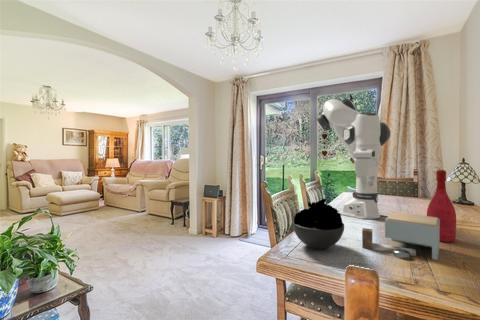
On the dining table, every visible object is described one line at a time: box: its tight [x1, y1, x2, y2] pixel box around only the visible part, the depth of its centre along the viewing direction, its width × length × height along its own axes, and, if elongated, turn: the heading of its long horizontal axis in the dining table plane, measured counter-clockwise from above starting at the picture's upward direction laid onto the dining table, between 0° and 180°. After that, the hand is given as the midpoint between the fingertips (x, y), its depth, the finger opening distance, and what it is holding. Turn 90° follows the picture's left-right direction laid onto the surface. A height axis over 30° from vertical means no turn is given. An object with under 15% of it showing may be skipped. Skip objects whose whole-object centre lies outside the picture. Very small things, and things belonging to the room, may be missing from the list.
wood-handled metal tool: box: [361, 227, 417, 257], centre depth 93 cm, size 18×4×7 cm, turn 60°
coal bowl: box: [292, 198, 345, 250], centre depth 97 cm, size 20×20×19 cm
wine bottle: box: [426, 169, 457, 243], centre depth 104 cm, size 10×10×30 cm
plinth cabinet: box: [384, 211, 440, 261], centre depth 94 cm, size 16×14×12 cm
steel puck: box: [392, 249, 411, 260], centre depth 88 cm, size 5×5×2 cm
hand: (368, 187), depth 96 cm, fingers open, 8 cm apart
